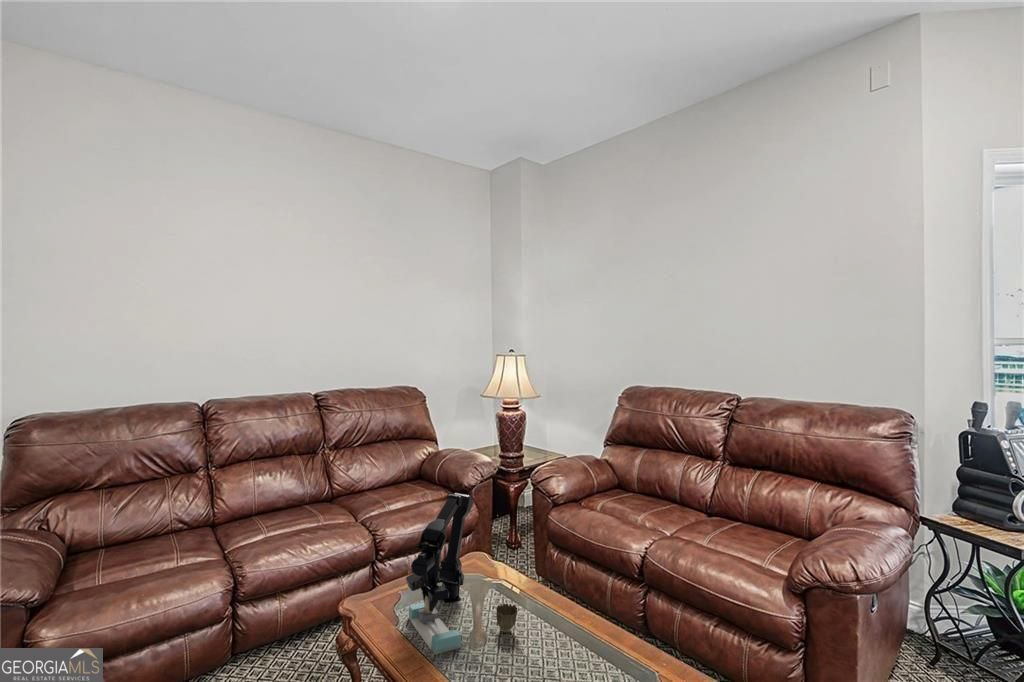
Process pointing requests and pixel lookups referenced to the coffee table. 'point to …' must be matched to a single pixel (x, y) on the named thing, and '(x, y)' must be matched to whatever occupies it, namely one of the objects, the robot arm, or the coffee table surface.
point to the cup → (506, 617)
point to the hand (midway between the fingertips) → (428, 608)
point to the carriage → (427, 613)
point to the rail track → (434, 632)
